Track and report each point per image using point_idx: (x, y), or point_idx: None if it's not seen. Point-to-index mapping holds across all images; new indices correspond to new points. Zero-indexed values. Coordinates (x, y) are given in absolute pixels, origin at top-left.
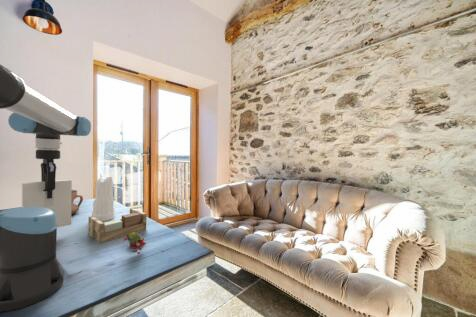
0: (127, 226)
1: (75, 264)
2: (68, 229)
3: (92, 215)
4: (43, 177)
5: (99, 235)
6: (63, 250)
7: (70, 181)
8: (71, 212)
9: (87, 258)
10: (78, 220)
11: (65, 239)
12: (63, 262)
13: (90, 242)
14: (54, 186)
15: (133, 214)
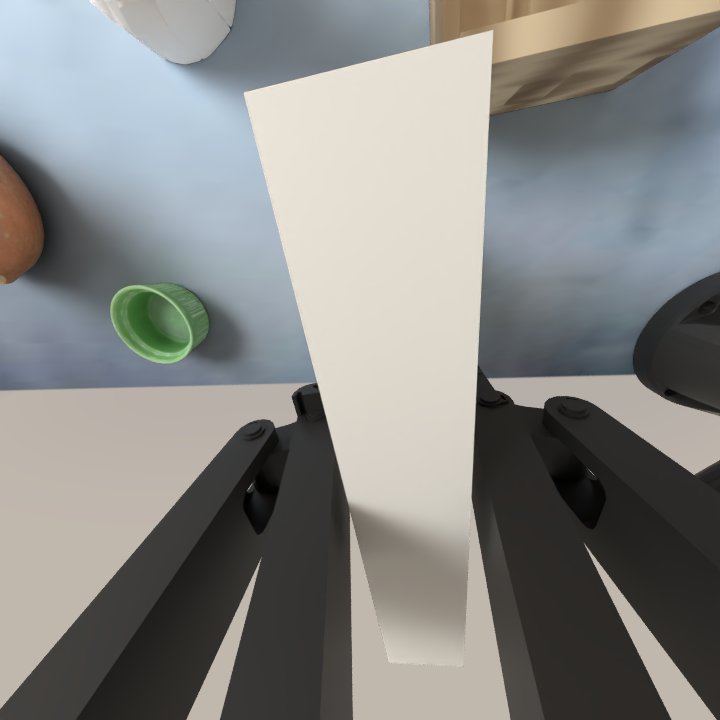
0: None
1: (682, 219)
2: (258, 204)
3: (160, 30)
4: (350, 656)
5: (649, 61)
6: (507, 244)
7: (473, 108)
8: (3, 164)
9: (679, 170)
10: (121, 140)
11: None
12: (620, 253)
13: (513, 128)
14: (621, 432)
15: None
